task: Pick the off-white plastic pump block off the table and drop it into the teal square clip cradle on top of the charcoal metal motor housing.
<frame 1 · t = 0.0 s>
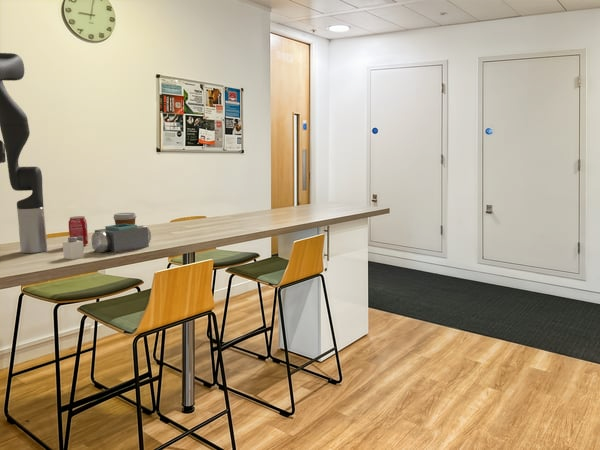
disposable coffee cup: (126, 241, 222), on the table
soda can: (79, 246, 213), on the table
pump: (74, 257, 188), on the table
motor: (122, 248, 205), on the table
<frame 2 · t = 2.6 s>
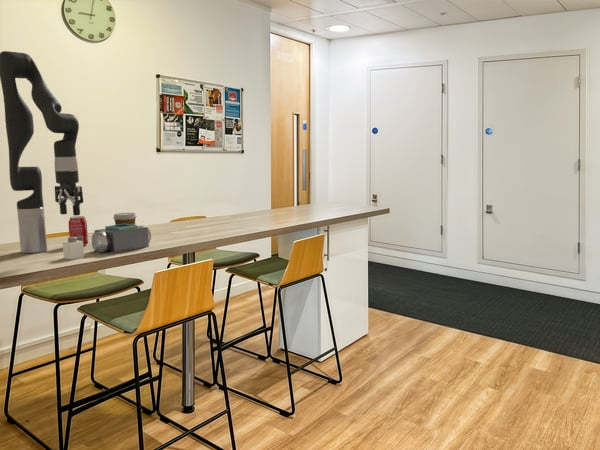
hand: (70, 214, 185), 16 cm above the table, tool pointing down, fingers open, 8 cm apart
nothing on the table moved.
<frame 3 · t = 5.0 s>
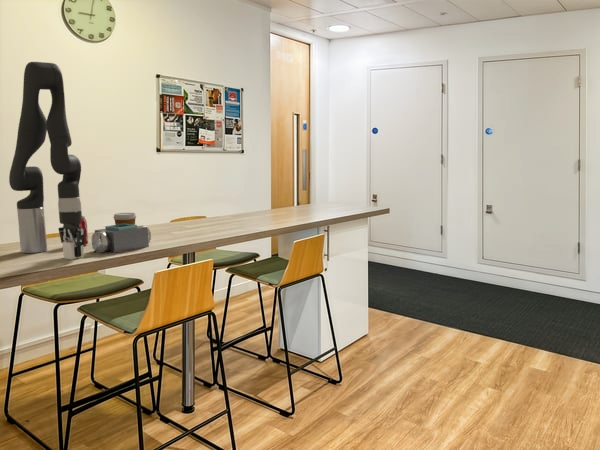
hand: (73, 255, 188), 1 cm above the table, tool pointing down, fingers closed on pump, 5 cm apart
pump: (73, 257, 188), on the table, touching gripper
everything else where it was.
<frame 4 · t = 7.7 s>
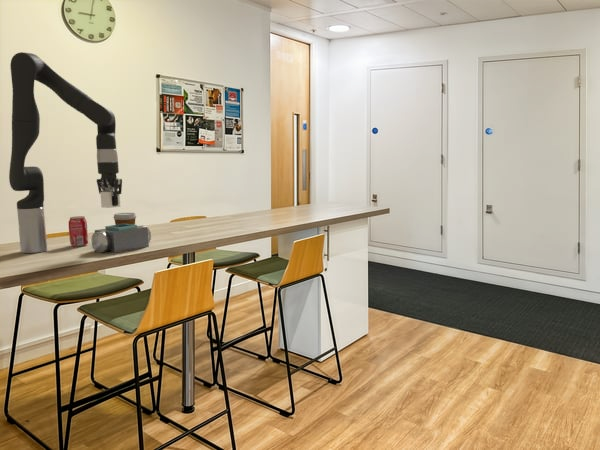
hand: (111, 205, 198), 18 cm above the table, tool pointing down, fingers closed on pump, 5 cm apart
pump: (111, 207, 198), point 17 cm above the table, touching gripper
everything else where it was.
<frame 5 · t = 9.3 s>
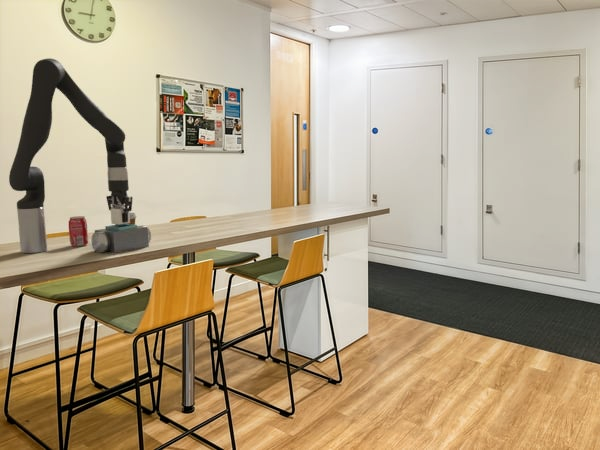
hand: (120, 221, 203), 11 cm above the table, tool pointing down, fingers closed on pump, 5 cm apart
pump: (120, 223, 203), point 10 cm above the table, touching gripper
everything else where it was.
when the fingers open (10 cm above the table, at t = 10.5 s): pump drops 2 cm, resting on motor.
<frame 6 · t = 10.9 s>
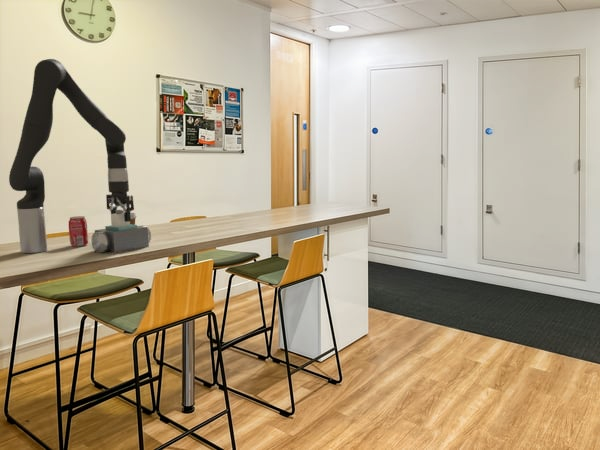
hand: (121, 220, 203), 11 cm above the table, tool pointing down, fingers open, 8 cm apart
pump: (121, 228, 204), point 8 cm above the table, touching motor
everything else where it was.
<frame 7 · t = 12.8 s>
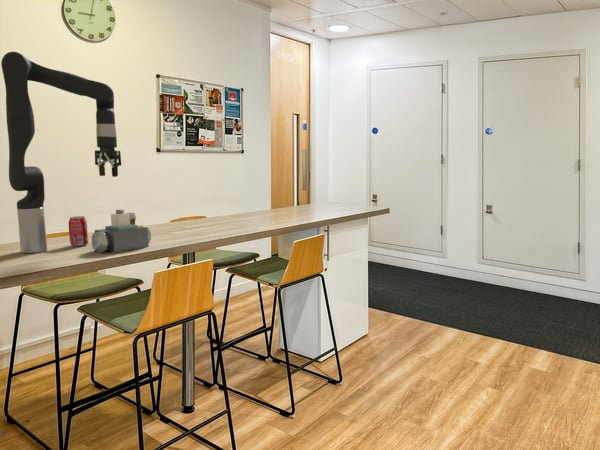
hand: (108, 176, 207), 29 cm above the table, tool pointing down, fingers open, 8 cm apart
nothing on the table moved.
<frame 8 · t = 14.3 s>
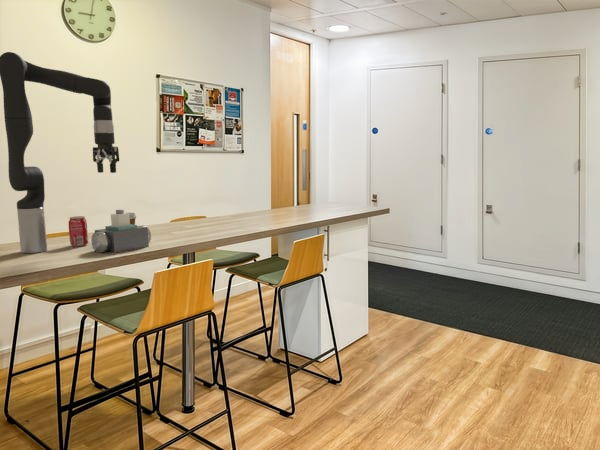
hand: (106, 172, 208), 30 cm above the table, tool pointing down, fingers open, 8 cm apart
nothing on the table moved.
at the end: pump 0.2 cm off-centre on the motor, point 8.0 cm above the motor's base; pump tilted 0°; the gripper is holding nothing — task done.
